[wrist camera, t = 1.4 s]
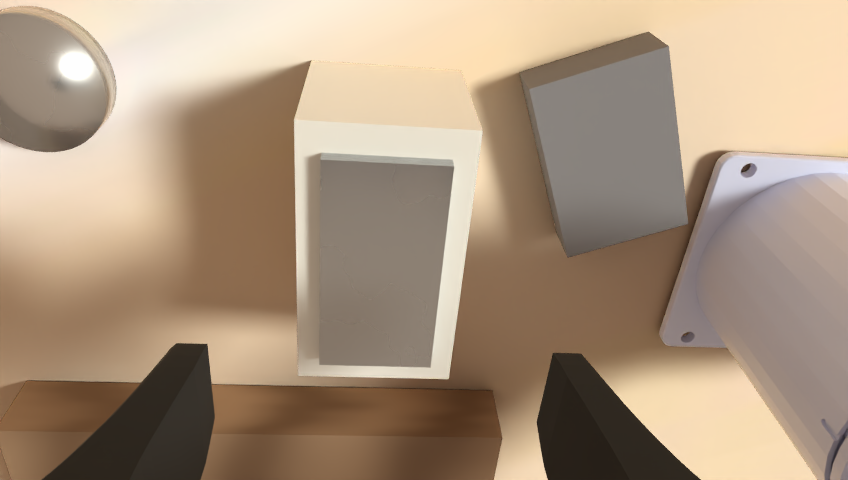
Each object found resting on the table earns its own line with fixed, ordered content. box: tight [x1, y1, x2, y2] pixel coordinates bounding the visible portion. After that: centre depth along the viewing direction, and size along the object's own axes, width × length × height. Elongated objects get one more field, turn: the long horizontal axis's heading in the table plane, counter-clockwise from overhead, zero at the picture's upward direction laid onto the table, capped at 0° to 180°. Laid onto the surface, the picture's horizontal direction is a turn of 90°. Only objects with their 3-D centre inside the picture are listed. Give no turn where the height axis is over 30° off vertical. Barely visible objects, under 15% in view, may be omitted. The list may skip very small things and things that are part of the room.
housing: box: [294, 60, 483, 379], centre depth 20 cm, size 4×8×5 cm, turn 175°
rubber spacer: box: [519, 32, 688, 257], centre depth 21 cm, size 4×6×2 cm, turn 17°
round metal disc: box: [0, 6, 116, 152], centre depth 19 cm, size 4×4×1 cm
